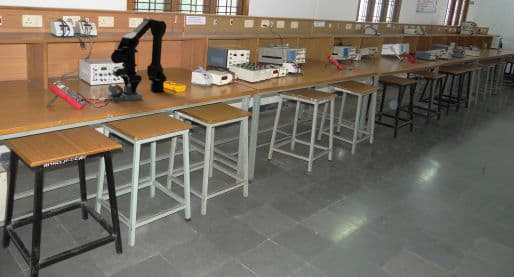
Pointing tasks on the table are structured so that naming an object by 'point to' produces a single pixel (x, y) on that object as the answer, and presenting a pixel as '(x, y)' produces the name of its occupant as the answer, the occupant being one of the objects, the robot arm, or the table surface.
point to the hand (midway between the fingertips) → (130, 91)
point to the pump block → (128, 90)
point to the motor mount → (121, 94)
